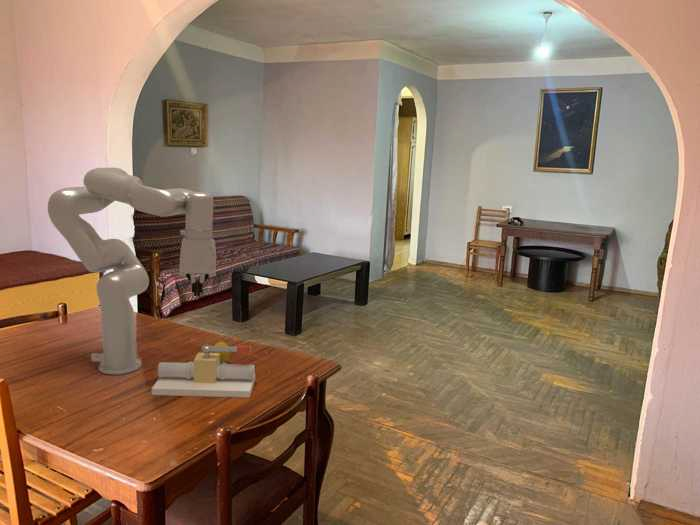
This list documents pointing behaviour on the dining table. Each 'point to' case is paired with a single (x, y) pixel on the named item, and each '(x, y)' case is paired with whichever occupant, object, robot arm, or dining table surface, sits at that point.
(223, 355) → the lemon
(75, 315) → the dining table surface
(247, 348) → the valve lever
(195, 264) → the robot arm
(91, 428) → the dining table surface
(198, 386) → the valve base
